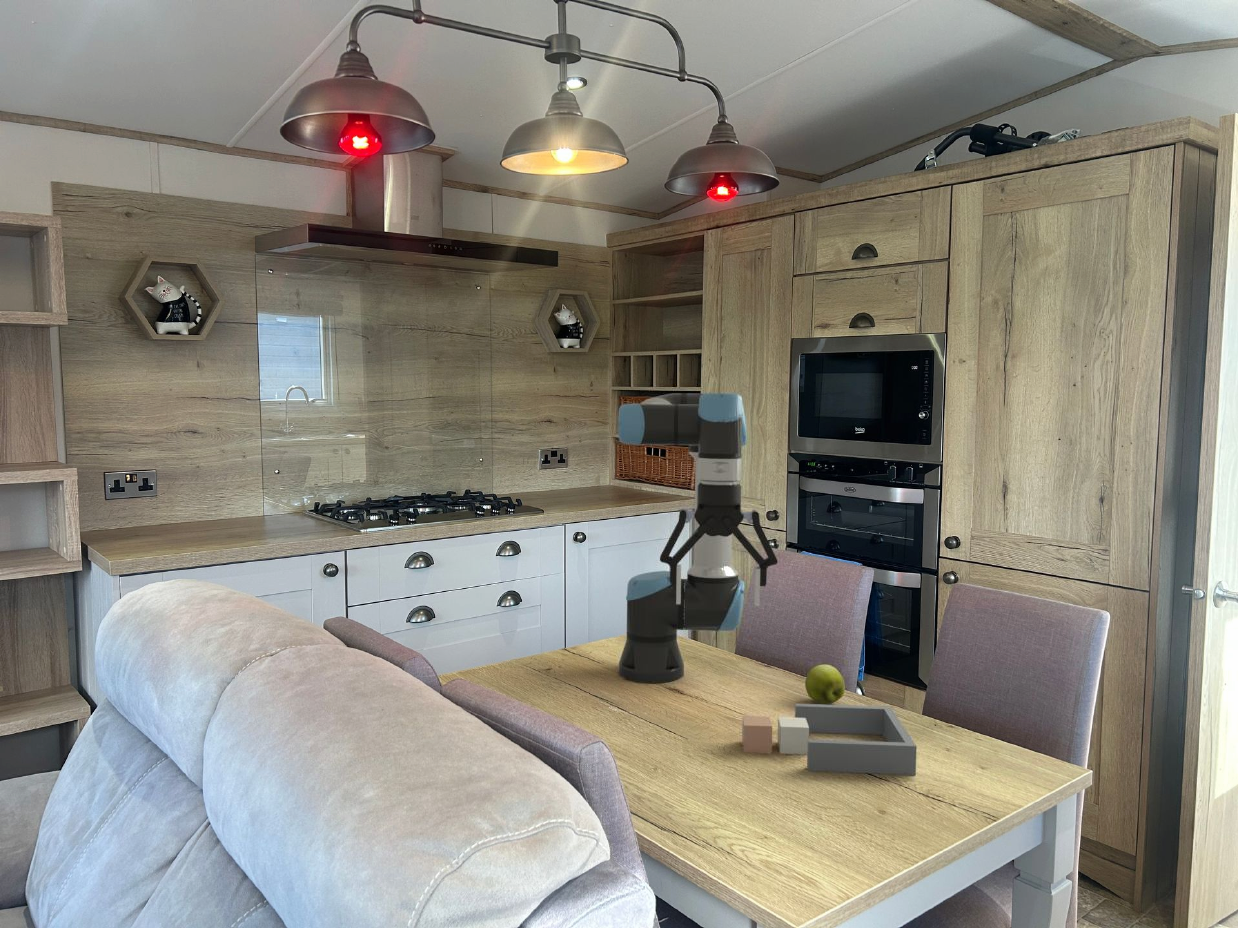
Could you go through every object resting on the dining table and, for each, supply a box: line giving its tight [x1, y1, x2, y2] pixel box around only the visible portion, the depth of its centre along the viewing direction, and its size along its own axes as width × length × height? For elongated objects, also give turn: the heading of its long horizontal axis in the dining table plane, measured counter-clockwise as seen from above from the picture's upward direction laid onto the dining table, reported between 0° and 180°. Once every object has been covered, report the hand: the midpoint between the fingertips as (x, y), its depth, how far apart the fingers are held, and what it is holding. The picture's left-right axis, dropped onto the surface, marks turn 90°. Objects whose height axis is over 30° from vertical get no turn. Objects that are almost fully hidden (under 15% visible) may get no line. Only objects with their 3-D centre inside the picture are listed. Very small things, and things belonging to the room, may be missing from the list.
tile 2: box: [776, 716, 810, 755], centre depth 165 cm, size 5×5×5 cm
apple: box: [804, 664, 846, 705], centre depth 190 cm, size 8×9×8 cm
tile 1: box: [741, 715, 773, 754], centre depth 166 cm, size 5×5×5 cm
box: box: [794, 703, 918, 776], centre depth 164 cm, size 20×18×5 cm
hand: (717, 603), depth 159 cm, fingers open, 13 cm apart
